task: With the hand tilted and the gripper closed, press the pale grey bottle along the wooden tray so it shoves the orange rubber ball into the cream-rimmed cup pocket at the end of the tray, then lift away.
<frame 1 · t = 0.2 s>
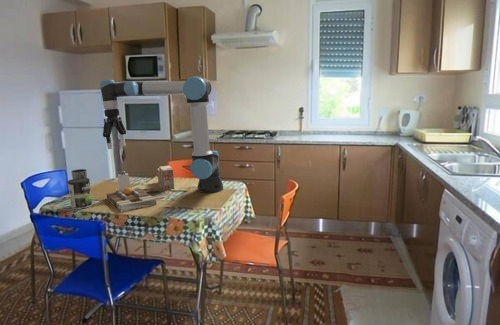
hand: (117, 147, 204), 28 cm above the table, tool pointing down, fingers open, 13 cm apart
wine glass: (82, 196, 211), on the table
printed cardboard box: (166, 185, 230), on the table
ball: (127, 191, 200), point 5 cm above the table, touching wooden tray
coffee can: (81, 206, 193), on the table
wooden tray: (131, 202, 197), on the table
pale grey bottle: (123, 181, 204), point 9 cm above the table, slide at 0.0 cm
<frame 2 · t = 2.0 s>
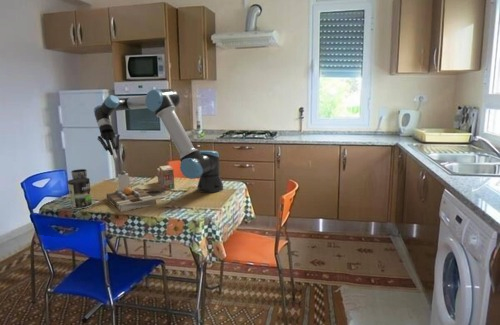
hand: (115, 158, 214), 20 cm above the table, tool tilted 45°, fingers closed
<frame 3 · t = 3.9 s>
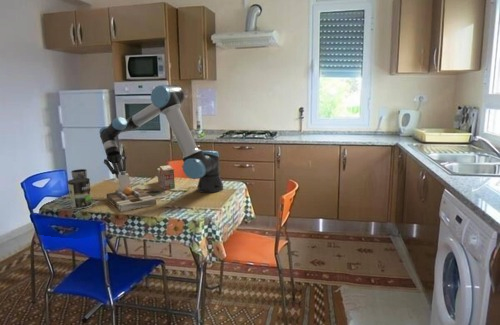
hand: (122, 182, 206), 8 cm above the table, tool tilted 45°, fingers closed
pale grey bottle: (124, 181, 204), point 9 cm above the table, slide at 0.3 cm, touching gripper
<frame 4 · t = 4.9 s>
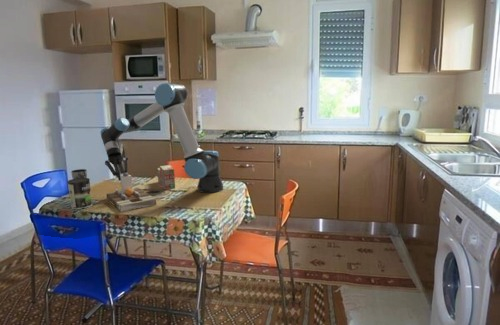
hand: (124, 184, 202), 8 cm above the table, tool tilted 45°, fingers closed
ball: (129, 192, 198), point 5 cm above the table, tilted 75°, touching wooden tray
pale grey bottle: (126, 183, 200), point 9 cm above the table, slide at 4.9 cm, touching gripper
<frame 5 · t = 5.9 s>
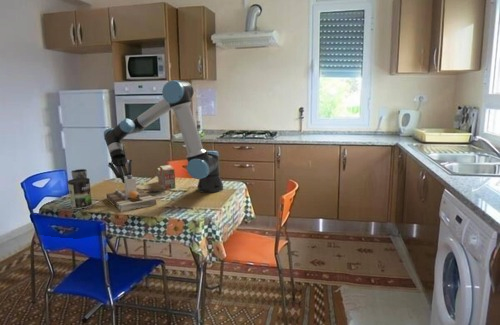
hand: (128, 187, 197), 8 cm above the table, tool tilted 45°, fingers closed
ball: (133, 195, 192), point 5 cm above the table, tilted 82°, touching wooden tray
pale grey bottle: (130, 186, 194), point 9 cm above the table, slide at 12.1 cm, touching gripper
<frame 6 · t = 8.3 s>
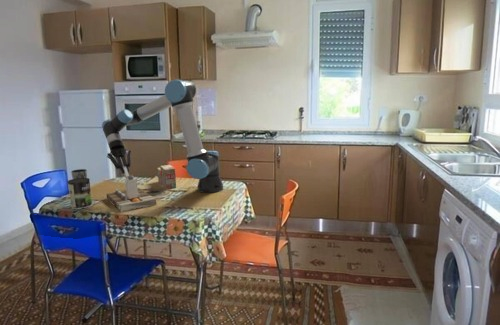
hand: (127, 177, 197), 13 cm above the table, tool tilted 45°, fingers closed
ball: (136, 202, 190), point 2 cm above the table, tilted 50°
pale grey bottle: (131, 186, 193), point 9 cm above the table, slide at 14.0 cm
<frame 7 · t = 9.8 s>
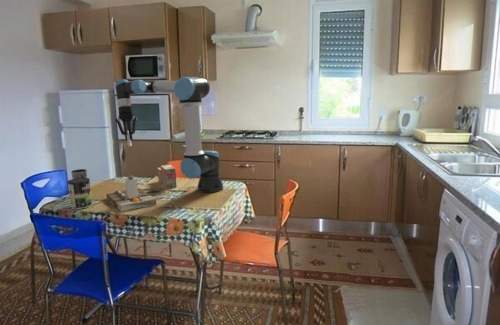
hand: (129, 146, 220), 26 cm above the table, tool pointing down, fingers closed
ball: (135, 201, 191), point 2 cm above the table, tilted 39°
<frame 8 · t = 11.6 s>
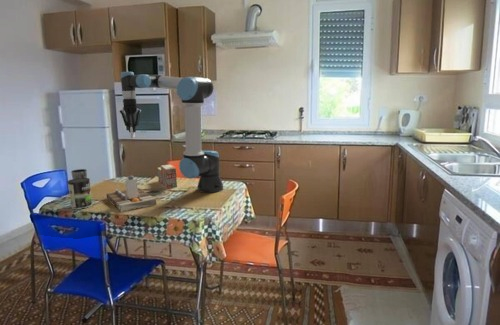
hand: (133, 137, 224), 30 cm above the table, tool pointing down, fingers closed
ball: (135, 201, 191), point 2 cm above the table, tilted 25°
at the end: ball 0.6 cm from the target spot on the wooden tray, point 2.0 cm above the wooden tray's base; pale grey bottle slide at 14.0 cm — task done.
